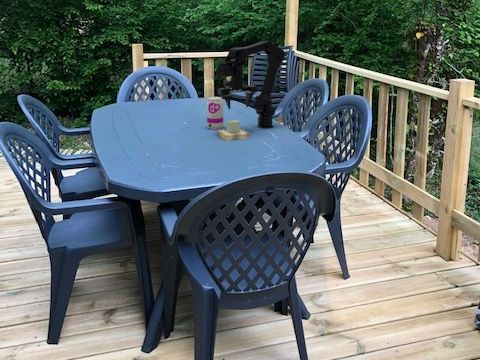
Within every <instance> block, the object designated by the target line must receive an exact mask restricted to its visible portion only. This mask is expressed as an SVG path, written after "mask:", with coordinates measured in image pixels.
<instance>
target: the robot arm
mask: <svg viewBox="0 0 480 360" xmlns="http://www.w3.org/2000/svg"><path fill="white" fill-rule="evenodd" d="M261 52H264V54H266V56H267V58H266V60H267V63H268V66H267V70H266V73H265V77H264V81H263V84H262V89H261V91H260V94H259V95H256V93H258V92H259V90H258V86H257V85H254V84H250V85H249V84H248V85H244V81H245V77H244V66H247V63H246V62H245V60H246V59H247V58H248V57H249V56H251V55H255V54H258V53H261ZM285 58H286V52H285V50H284V49H282V48H280V47H278V46H277V45H275V44H273V42H271V41H269V40H262V41H260V42H258V43H253V44H251V45H247V46H244V47H243V46H242V47H231V48H230V49H229V51H228V54H227V55H226V57H225V60H224V61H223V62H218V65H217V67H216V70H215V72H216V76H217V78H219V79H222V78H229V79H224V80H223V81H222V82H223V87H219V88H218V89H217V95H219V97H221V98H223V99H224V101H225V103H226V107H227V108H228V110H231V95H230V94H232V93H233V94H234V93H245V108H248V107H249V105H250V102H251V100H252V98H253V96H254V95H256V96H255V98H254V102H253V105H254V106H253V107H254V110H255V111H256V114H257V115H258V117H257V127H259V128H261V129H265V128H274V127H275V126H274V125H273V116H275V114H276V110H275V109H274V108H273V107H272V104H273V100H272V92H273V88H274V85H275V81H276V76H277V74H278V69H279V68H280V66H281V65H282V64H283V62H284V60H285Z"/></svg>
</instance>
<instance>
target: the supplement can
mask: <svg viewBox="0 0 480 360" xmlns="http://www.w3.org/2000/svg"><path fill="white" fill-rule="evenodd" d="M206 127H207V128H208V129H210V130H222V129H223V128H224V100H223V97H222V96H210V97H207V100H206Z"/></svg>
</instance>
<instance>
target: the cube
mask: <svg viewBox="0 0 480 360" xmlns="http://www.w3.org/2000/svg"><path fill="white" fill-rule="evenodd" d="M225 122H226V129H227V132H229V133H238V132H240V128H241V121H240V120H238V119H231V120H226V121H225Z"/></svg>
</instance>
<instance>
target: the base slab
mask: <svg viewBox="0 0 480 360" xmlns="http://www.w3.org/2000/svg"><path fill="white" fill-rule="evenodd" d="M216 136H217V137H219V138H220V139H222V140H223V141H225V142H228V141H229V140H230V141H240V140H247V139H249V138H250V137H251V134H250V132H248V131H246V130H245V129H242V128H241V127H240V132H238V133H229V132H227V128H226V129H216Z"/></svg>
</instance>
